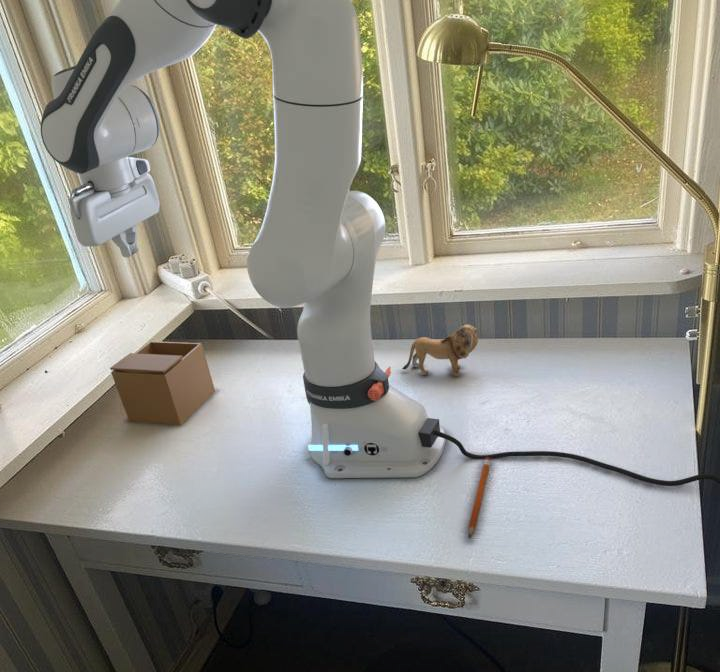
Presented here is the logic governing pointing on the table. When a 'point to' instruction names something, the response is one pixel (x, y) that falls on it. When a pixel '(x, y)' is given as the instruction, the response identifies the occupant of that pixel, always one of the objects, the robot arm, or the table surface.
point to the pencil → (479, 496)
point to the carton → (166, 385)
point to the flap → (146, 362)
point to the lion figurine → (444, 348)
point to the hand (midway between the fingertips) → (131, 254)
